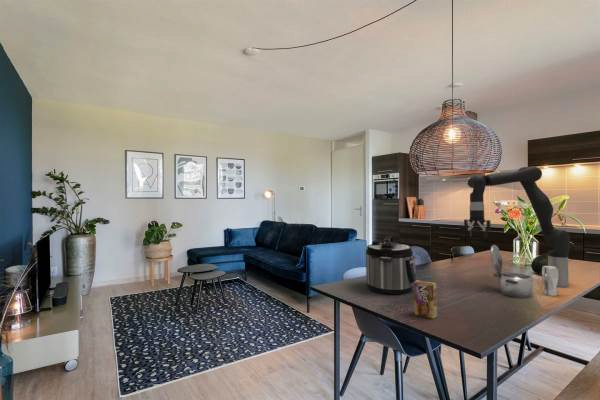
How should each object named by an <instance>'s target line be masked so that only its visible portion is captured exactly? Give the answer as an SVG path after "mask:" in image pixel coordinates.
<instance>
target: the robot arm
mask: <svg viewBox="0 0 600 400" xmlns="http://www.w3.org/2000/svg"><path fill="white" fill-rule="evenodd" d="M542 176H543V172H542V170H541V168H539V167H537V166H523V167H520V168H519V169H518V170H516V171H507V172H496V173H489V174H485V175H475V176H471V177H469V179H467V186H468V187H469V188H471V189H472V192H470V194H469V219H467V218H466V219H464V220H463V226H464V230H467V235H468V236H469V237H470V238H472V236H473V235H472V234H473V233H472V232H473V231H472V230H473V228H474V227H478V228H481V229H482V231H483V232H482V237H483V238H484V239H485V238H486V237H487V236H488V231H490V230H491V221H492V220H490V219H485V202H484V193H485V190H486V187H493V186H499V185H507V184H511V183H520V184H521V186H522V188H523V189H524V191H525V194H526V196H527V197H528V200H529V202H530V205H531V208H532V210H533V211H534V214H535V215H536V219H537V221H538V224H539V226H540V230H541V232H542V236H543V239H544V241H545V242H546V243H548V245H549V244H550V245H553V246H554V249H551V250H548V252H547V254H548V266H554V267H557V268H558V283H557V287H561V288H565V287H566V288H568V287H569V286H570V284H569V283H570V282H569V279H570V278H569V277H570V276H569V254H570V248H571V247H570V245H571V236H570V233H569V232H568V231H567V230H564V229H556V228H555V227H554V225H553V222H552V217H553V214H554V207H553V204H552V202H551V200H550V198H549V197H548V195H546V194H545V192H543V190H541V189H540V188H539V186H538V184H537V181H539V180H541V178H542ZM469 223H470V225H469ZM484 223H485V224H486V226H485V224H484Z"/></svg>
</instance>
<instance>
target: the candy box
mask: <svg viewBox="0 0 600 400" xmlns="http://www.w3.org/2000/svg"><path fill="white" fill-rule="evenodd" d="M413 288H414V289H413V290H414V315H416V316H420V317H425V318H430V319H435V318H437V317H438V304H437V303H438V302H437V301H438V300H437V283H436V282H432V281H431V282H430V281H427V280H418V279H416V280H415V282H413Z"/></svg>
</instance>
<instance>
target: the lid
mask: <svg viewBox="0 0 600 400" xmlns="http://www.w3.org/2000/svg"><path fill="white" fill-rule="evenodd" d="M489 251H490V252H489V253H490V261H491V265H492V267H493V269H494V271H495V272H497V273H498V274H499V273H503V271H502V270H503V259H502V258H503V257H502V254H501V251H500V248H499V246H498V245H496V244H492V245H491V246H490V250H489Z"/></svg>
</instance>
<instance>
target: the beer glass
mask: <svg viewBox="0 0 600 400" xmlns="http://www.w3.org/2000/svg"><path fill="white" fill-rule="evenodd" d="M541 277H542V281H543V294H544V295H546V296H550V297H557V296H559V295H558V286H557V283H558V268H557V267H554V266H542V275H541Z"/></svg>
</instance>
